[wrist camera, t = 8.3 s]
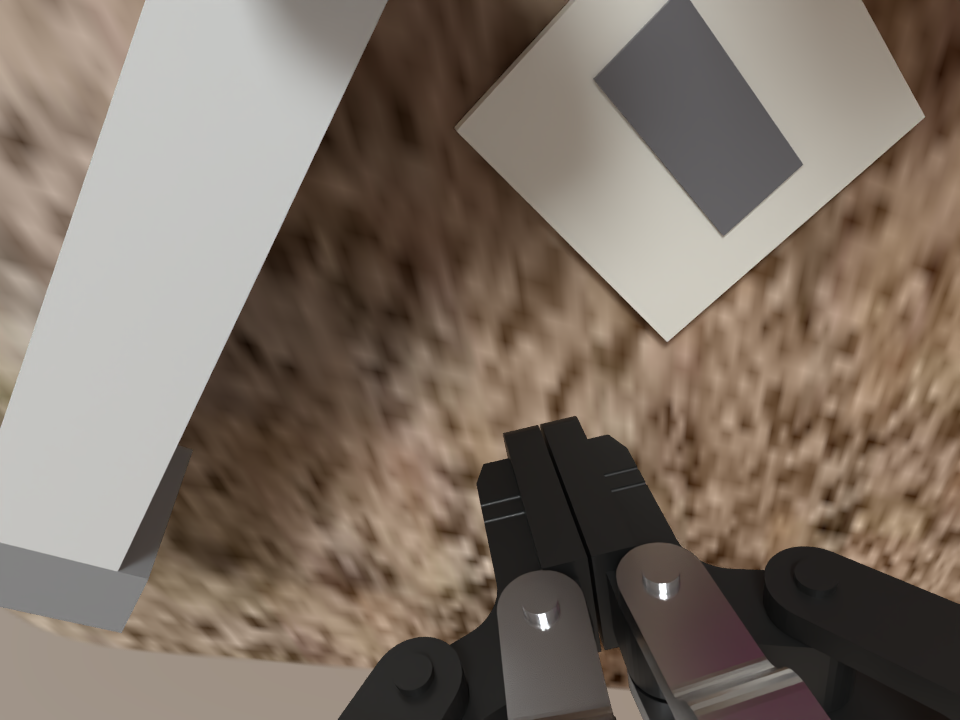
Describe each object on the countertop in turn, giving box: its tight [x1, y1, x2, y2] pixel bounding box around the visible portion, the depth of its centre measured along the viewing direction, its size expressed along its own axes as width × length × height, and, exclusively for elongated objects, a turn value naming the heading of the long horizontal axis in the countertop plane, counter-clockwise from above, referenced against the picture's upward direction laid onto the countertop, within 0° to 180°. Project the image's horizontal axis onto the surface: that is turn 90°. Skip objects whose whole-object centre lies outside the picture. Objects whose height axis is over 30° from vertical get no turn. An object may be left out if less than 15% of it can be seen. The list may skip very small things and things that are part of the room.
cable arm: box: [0, 0, 388, 633], centre depth 10 cm, size 18×4×6 cm, turn 149°
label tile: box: [454, 0, 925, 342], centre depth 15 cm, size 8×8×1 cm
